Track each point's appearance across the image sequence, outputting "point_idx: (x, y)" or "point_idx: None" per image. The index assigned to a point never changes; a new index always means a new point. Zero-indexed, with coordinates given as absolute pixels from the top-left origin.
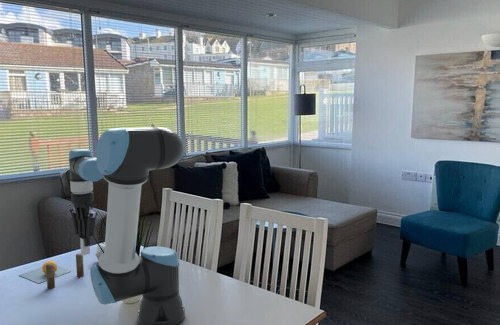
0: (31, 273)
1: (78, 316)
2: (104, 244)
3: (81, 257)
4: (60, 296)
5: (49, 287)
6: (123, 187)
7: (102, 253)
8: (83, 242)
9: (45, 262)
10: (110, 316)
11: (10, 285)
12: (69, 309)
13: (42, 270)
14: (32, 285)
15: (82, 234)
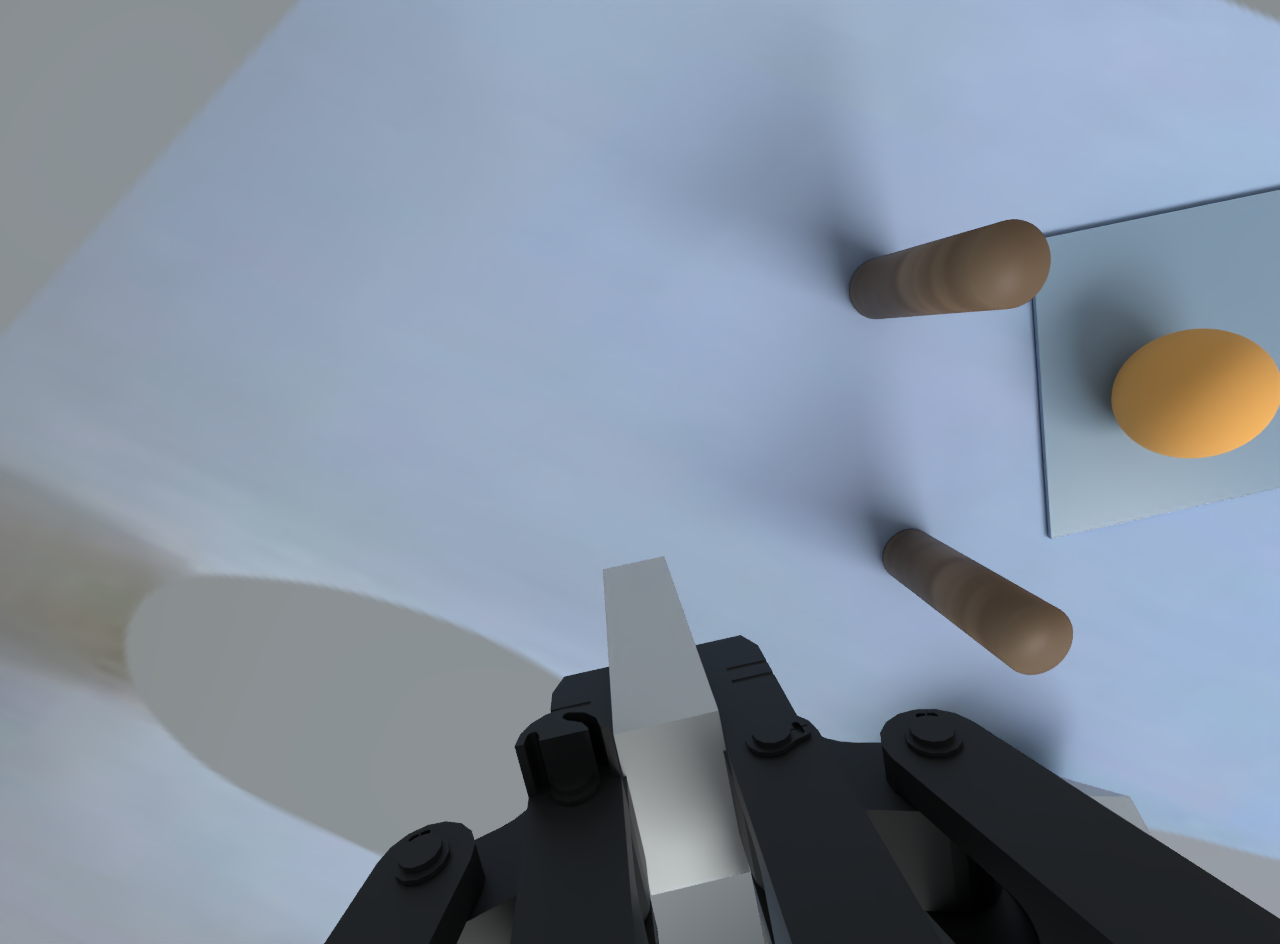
0: (1274, 274)
1: (193, 229)
2: None
3: (984, 636)
4: (653, 275)
5: (864, 264)
6: None
7: None
8: (612, 689)
9: (1275, 370)
10: (26, 412)
11: (1190, 43)
12: (366, 228)
13: None
14: (1039, 188)
15: (748, 826)
